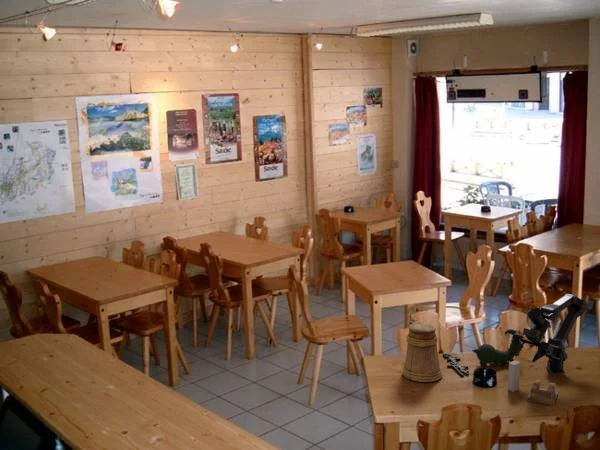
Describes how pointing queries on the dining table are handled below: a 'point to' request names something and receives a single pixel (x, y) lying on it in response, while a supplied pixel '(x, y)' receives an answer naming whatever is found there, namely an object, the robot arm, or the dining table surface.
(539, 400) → the clay rack
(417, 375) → the tankard
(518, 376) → the clay bar
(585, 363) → the dining table surface
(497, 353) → the toy figurine
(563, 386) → the dining table surface
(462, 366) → the nameplate
